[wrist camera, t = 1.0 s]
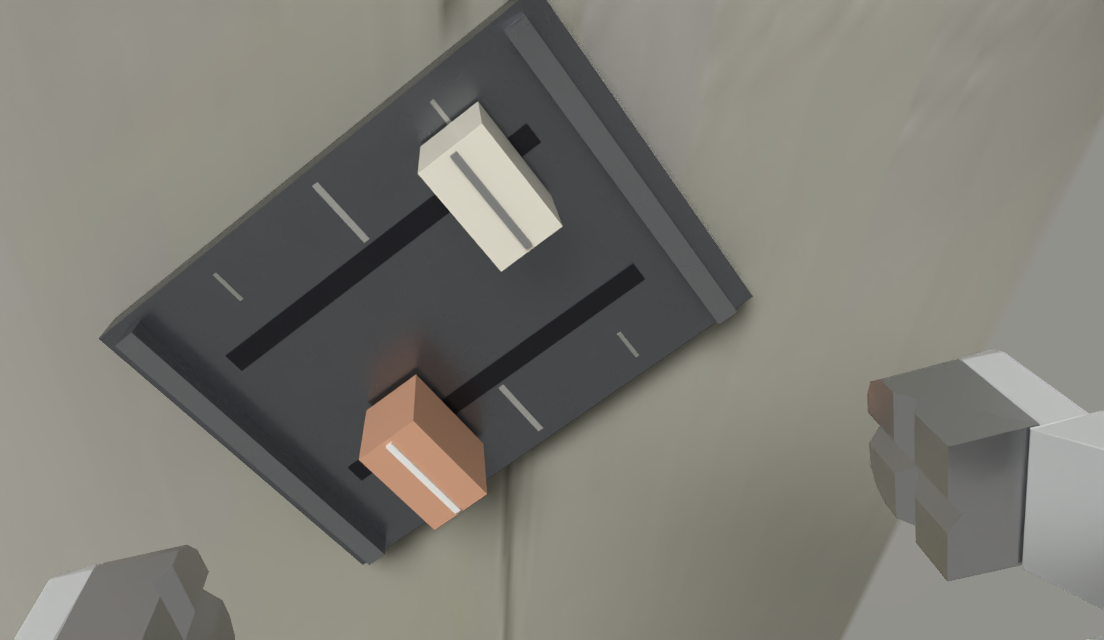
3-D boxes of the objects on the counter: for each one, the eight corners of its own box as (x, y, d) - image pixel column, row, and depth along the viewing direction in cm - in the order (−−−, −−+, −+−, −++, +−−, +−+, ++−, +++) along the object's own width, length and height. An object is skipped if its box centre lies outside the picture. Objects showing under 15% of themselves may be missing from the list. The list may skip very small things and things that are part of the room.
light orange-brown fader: (416, 374, 40) (413, 423, 36) (483, 443, 42) (487, 496, 38) (366, 410, 40) (358, 462, 36) (435, 477, 42) (434, 532, 38)
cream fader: (478, 101, 35) (482, 124, 31) (551, 195, 37) (563, 228, 33) (420, 146, 35) (417, 175, 31) (495, 236, 37) (501, 273, 33)
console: (531, -18, 35) (539, -12, 32) (739, 280, 42) (761, 307, 39) (114, 318, 39) (88, 351, 36) (365, 539, 46) (360, 581, 43)
